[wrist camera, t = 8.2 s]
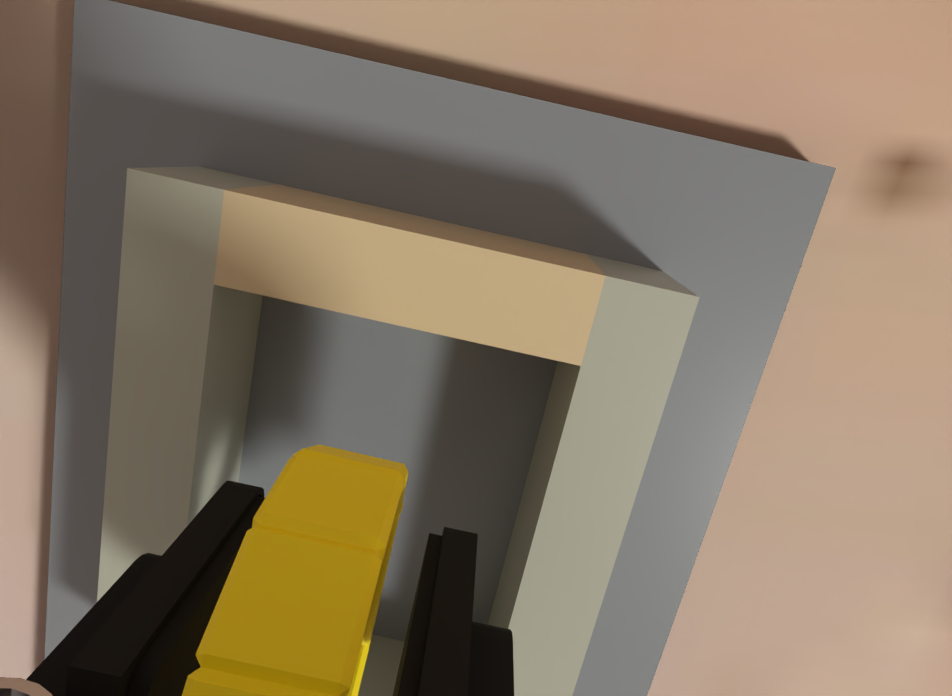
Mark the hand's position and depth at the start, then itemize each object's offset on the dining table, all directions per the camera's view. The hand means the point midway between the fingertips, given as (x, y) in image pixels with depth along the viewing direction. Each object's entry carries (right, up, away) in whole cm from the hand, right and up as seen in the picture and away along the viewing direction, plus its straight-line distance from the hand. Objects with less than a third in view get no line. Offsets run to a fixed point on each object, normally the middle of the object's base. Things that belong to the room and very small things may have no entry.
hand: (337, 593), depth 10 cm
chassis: (0, -1, +5) cm, 5 cm away
